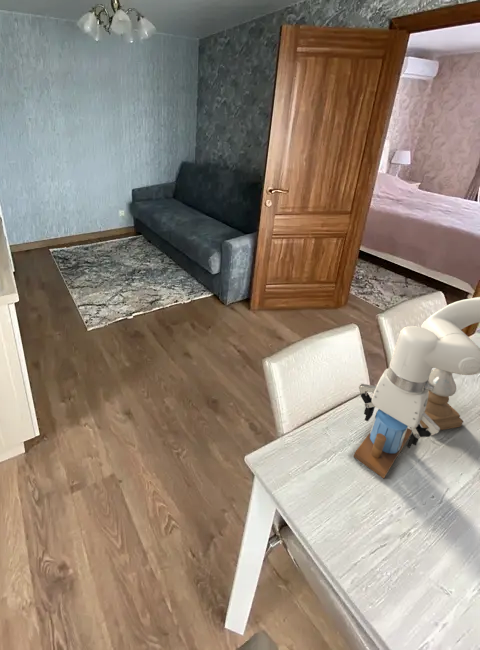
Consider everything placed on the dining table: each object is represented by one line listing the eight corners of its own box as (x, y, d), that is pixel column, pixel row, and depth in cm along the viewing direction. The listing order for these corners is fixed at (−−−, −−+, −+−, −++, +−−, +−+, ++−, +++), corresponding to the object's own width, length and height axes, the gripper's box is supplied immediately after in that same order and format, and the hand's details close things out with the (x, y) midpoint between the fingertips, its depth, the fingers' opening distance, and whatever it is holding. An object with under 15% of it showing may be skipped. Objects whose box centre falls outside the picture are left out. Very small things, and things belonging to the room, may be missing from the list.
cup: (399, 437, 88) (407, 414, 85) (400, 458, 83) (408, 434, 80) (370, 425, 91) (377, 403, 88) (369, 445, 86) (376, 422, 83)
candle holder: (428, 395, 103) (453, 329, 94) (462, 426, 93) (494, 355, 84) (396, 399, 101) (419, 332, 92) (427, 432, 91) (456, 360, 82)
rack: (382, 417, 96) (389, 397, 93) (410, 434, 91) (418, 413, 88) (353, 457, 85) (359, 435, 82) (383, 479, 80) (391, 456, 77)
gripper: (456, 391, 75) (433, 446, 82) (373, 351, 87) (359, 401, 94) (446, 409, 71) (423, 465, 77) (360, 364, 83) (346, 416, 89)
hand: (388, 430), depth 86 cm, fingers open, 9 cm apart
